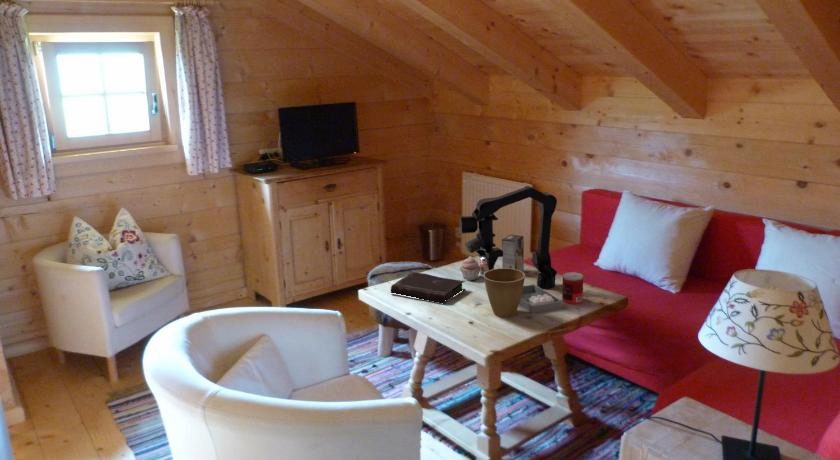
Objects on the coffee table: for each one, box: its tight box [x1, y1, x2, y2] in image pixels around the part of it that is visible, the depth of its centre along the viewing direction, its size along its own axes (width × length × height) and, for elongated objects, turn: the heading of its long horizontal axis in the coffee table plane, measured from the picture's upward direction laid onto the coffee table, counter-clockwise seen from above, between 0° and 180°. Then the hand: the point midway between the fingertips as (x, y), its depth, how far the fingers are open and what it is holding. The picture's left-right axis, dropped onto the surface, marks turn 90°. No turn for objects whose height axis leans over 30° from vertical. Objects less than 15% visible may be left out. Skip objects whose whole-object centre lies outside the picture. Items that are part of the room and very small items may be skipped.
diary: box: [390, 271, 466, 305], centre depth 271 cm, size 19×25×5 cm
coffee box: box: [501, 234, 525, 272], centre depth 290 cm, size 9×6×16 cm
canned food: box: [561, 272, 584, 305], centre depth 253 cm, size 8×8×11 cm
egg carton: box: [529, 294, 554, 305], centre depth 249 cm, size 8×5×4 cm, turn 109°
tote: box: [518, 283, 563, 314], centre depth 255 cm, size 13×21×4 cm, turn 19°
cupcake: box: [459, 255, 480, 281], centre depth 285 cm, size 9×9×10 cm
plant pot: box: [483, 267, 526, 318], centre depth 243 cm, size 15×15×16 cm
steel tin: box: [479, 255, 495, 277], centre depth 265 cm, size 6×6×7 cm
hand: (487, 268), depth 265 cm, fingers closed on steel tin, 6 cm apart
